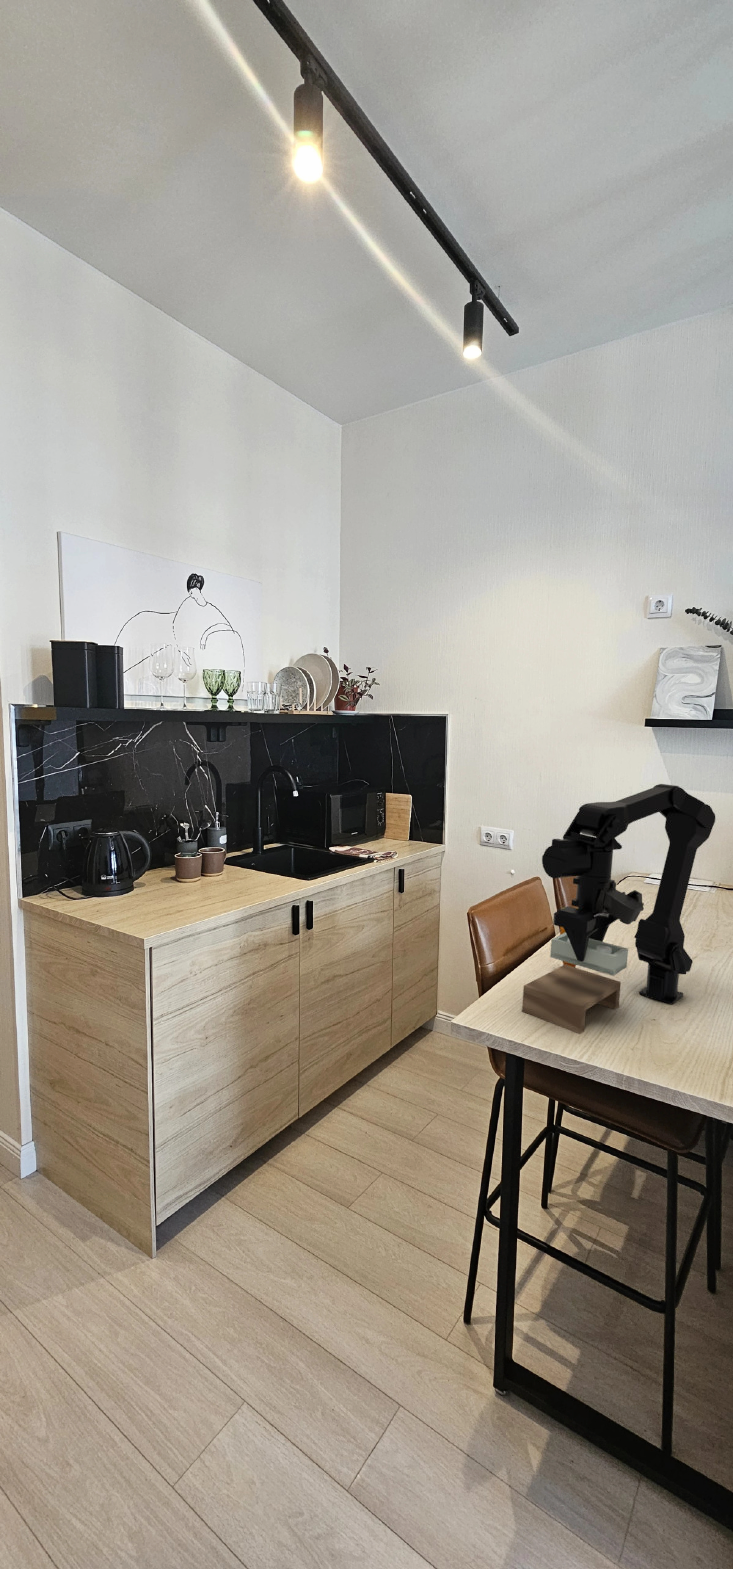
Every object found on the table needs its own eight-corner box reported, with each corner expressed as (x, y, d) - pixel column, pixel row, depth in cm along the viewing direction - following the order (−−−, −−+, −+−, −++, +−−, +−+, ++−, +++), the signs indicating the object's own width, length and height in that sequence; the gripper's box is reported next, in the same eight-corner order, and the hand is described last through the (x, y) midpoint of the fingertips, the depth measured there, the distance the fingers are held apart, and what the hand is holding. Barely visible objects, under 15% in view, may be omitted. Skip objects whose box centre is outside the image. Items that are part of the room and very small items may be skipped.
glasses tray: (564, 949, 128) (566, 932, 128) (626, 967, 120) (628, 948, 120) (550, 957, 124) (551, 939, 123) (613, 975, 116) (615, 956, 115)
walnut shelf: (563, 988, 134) (565, 964, 134) (618, 1006, 127) (620, 981, 126) (522, 1011, 123) (523, 985, 123) (579, 1033, 115) (581, 1006, 115)
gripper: (618, 891, 108) (610, 983, 109) (658, 874, 122) (650, 956, 123) (554, 878, 115) (548, 964, 117) (599, 863, 129) (593, 941, 131)
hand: (588, 956), depth 122 cm, fingers closed on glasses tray, 6 cm apart
